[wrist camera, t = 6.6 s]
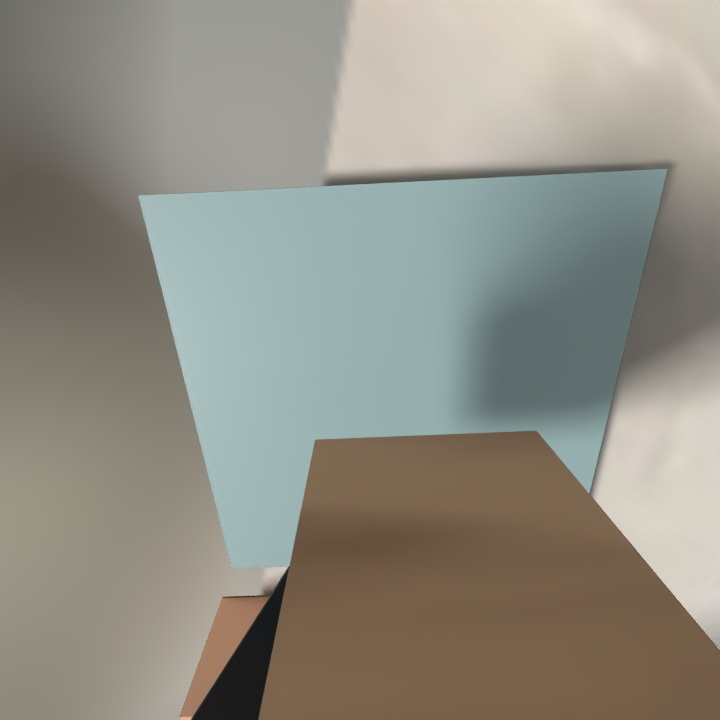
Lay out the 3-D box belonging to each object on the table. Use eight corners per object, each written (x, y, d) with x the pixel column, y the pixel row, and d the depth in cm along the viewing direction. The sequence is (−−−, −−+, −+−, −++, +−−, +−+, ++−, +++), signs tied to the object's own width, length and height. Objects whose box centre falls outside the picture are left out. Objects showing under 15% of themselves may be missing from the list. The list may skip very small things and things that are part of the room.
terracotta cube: (323, 652, 21) (312, 775, 16) (238, 654, 21) (204, 778, 16) (315, 593, 19) (301, 713, 15) (222, 596, 19) (179, 717, 15)
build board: (562, 538, 18) (573, 556, 17) (238, 550, 18) (231, 568, 17) (643, 172, 12) (668, 168, 11) (155, 197, 12) (138, 195, 11)
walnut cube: (512, 585, 10) (647, 911, 5) (331, 591, 10) (307, 917, 5) (536, 430, 8) (777, 719, 3) (314, 439, 8) (255, 733, 3)
